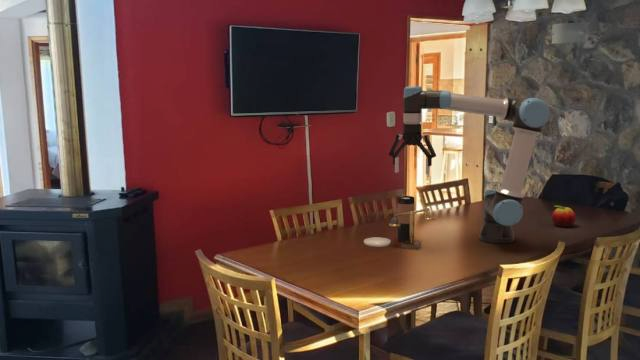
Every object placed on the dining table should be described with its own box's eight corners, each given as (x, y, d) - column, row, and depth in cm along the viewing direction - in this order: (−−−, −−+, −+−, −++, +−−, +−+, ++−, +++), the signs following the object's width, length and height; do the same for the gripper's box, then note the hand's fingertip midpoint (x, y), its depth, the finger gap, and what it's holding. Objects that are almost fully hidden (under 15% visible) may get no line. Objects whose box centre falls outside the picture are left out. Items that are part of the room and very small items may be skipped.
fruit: (568, 229, 273) (569, 209, 271) (547, 226, 281) (548, 206, 280) (579, 225, 280) (580, 206, 278) (557, 222, 288) (558, 203, 287)
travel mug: (413, 242, 254) (414, 199, 251) (396, 242, 256) (396, 198, 253) (414, 238, 262) (414, 195, 259) (397, 237, 263) (398, 195, 260)
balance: (436, 248, 245) (436, 207, 243) (432, 251, 240) (432, 210, 237) (391, 243, 255) (391, 203, 252) (386, 246, 249) (387, 206, 247)
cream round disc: (394, 241, 257) (394, 238, 257) (384, 248, 247) (384, 245, 247) (369, 238, 263) (369, 236, 263) (359, 245, 252) (359, 242, 252)
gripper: (443, 123, 237) (443, 173, 240) (387, 122, 248) (387, 170, 251) (438, 124, 230) (438, 175, 233) (381, 123, 241) (381, 172, 245)
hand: (411, 173), depth 242 cm, fingers open, 13 cm apart
